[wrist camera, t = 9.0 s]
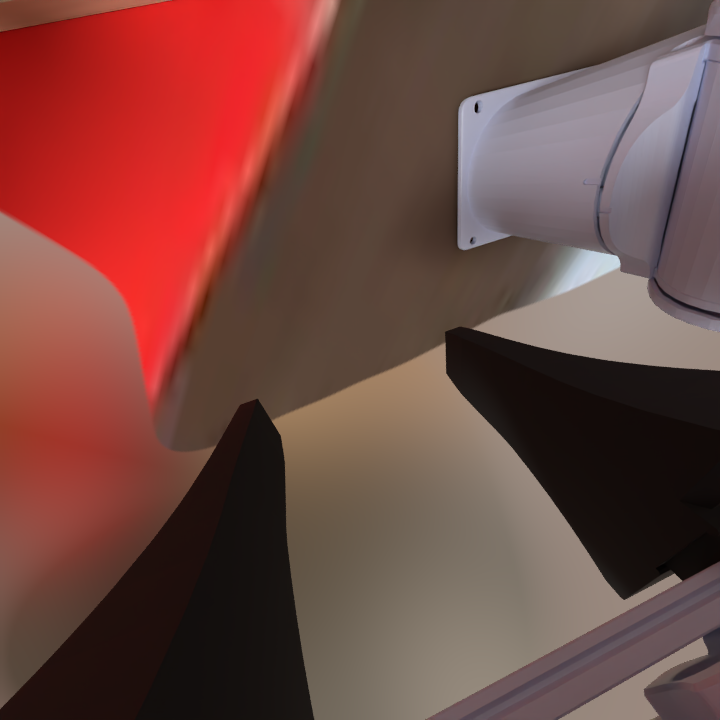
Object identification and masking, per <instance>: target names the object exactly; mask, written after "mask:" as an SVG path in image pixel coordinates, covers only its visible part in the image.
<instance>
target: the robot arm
mask: <svg viewBox="0 0 720 720" xmlns="http://www.w3.org/2000/svg"><path fill="white" fill-rule="evenodd" d="M476 103H477V104H478V111H477V113H476V112H475V110H474V107H475V104H476ZM512 235H513V236H518V237H524V238H529V239H534V240H539V241H544V242H549V243H554V244H560V245H565V246H570V247H575V248H580V249H585V250H590V251H596V252H601V253H606V254H611V255H617V256H618V257H619V259H620V263H621V265H620V271H621V272H625V273H629V274H633V275H637V276H641V277H645V278H649V280H648V287H647V289H648V292H649V296H650V298H651V299H652V301H653V302H654V304H655V305H656V306H658V307H659V308H660V309H661V310H663V311H664V312H665V313H667V314H669V315H671V316H673V317H674V318H676V319H679V320H681V321H684V322H686V323H688V324H692V325H695V326H698V327H701V328H705V329H708V330H713V331H717V332H720V0H714V1H713V2H712V3H711V5H710V8H709V12H708V20H707V24H704V25H702V26H699V27H696V28H694V29H691V30H689V31H686V32H683V33H681V34H678V35H675V36H673V37H670V38H667V39H665V40H662V41H660V42H657V43H654V44H652V45H649V46H646V47H644V48H641V49H639V50H636V51H633V52H631V53H628V54H625V55H623V56H620V57H618V58H615V59H612V60H610V61H607V62H604V63H602V64H599V65H596V66H591V67H587V68H583V69H579V70H575V71H571V72H567V73H563V74H559V75H555V76H551V77H547V78H543V79H539V80H535V81H531V82H527V83H523V84H519V85H515V86H511V87H507V88H503V89H499V90H495V91H491V92H487V93H483V94H479V95H475V96H471V97H468V98H466V99H465V100H463V102H462V103H461V105H460V107H459V119H458V247H459V248H460V249H462V250H467V249H471V248H474V247H477V246H480V245H483V244H486V243H490V242H493V241H496V240H499V239H502V238H506V237H509V236H512ZM472 237H473V241H472V242H471V243H470V239H471V238H472ZM445 338H446V373H447V375H448V376H449V378H450V379H451V381H452V382H453V383H454V385H455V386H456V387H457V389H458V390H459V391H460V393H461V394H462V395H463V396H464V397H465V398H466V399H467V400H468V401H469V402H470V403H471V405H473V407H474V408H475V409H476V410H477V411H478V412H479V413H480V414H481V415H482V416H483V417H484V418H485V419H486V420H487V421H488V422H489V423H490V424H491V425H492V426H493V427H494V428H495V429H496V430H497V431H498V433H499V434H500V435H501V436H502V437H503V438H504V439H505V440H506V441H507V442H508V443H509V445H510V446H511V447H512V448H513V449H514V450H515V452H516V453H517V454H518V456H519V457H520V458H521V459H522V461H523V462H524V463H525V465H526V466H527V467H528V468H529V470H530V471H531V472H532V474H533V475H534V476H535V477H536V479H537V480H538V481H539V483H540V484H541V486H542V487H543V488H544V490H545V491H546V492H547V493H548V495H549V496H550V497H551V499H552V500H553V502H554V503H555V505H556V506H557V507H558V509H559V510H560V512H561V513H562V515H563V516H564V517H565V519H566V520H567V522H568V523H569V524H570V526H571V527H572V529H573V530H574V532H575V533H576V535H577V536H578V538H579V539H580V541H581V543H582V544H583V546H584V547H585V549H586V550H587V552H588V553H589V554H590V556H591V558H592V559H593V561H594V562H595V564H596V565H597V567H598V569H599V570H600V572H601V573H602V575H603V577H604V578H605V580H606V581H607V582H608V583H609V584H610V586H611V587H612V588H613V589H614V590H615V591H616V592H617V594H618V595H619V596H620V597H621V598H622V599H624V600H625V599H627V598H629V597H631V596H633V595H634V594H637V593H638V592H640V591H642V590H644V589H646V588H648V587H650V586H652V585H654V584H656V583H657V582H659V581H661V580H663V579H665V578H667V577H669V576H671V575H672V574H674V573H675V574H676V575H677V576H678V577H679V578H680V579H681V580H682V582H680V583H679V584H677V585H675V586H673V587H671V588H670V589H667V590H666V591H664V592H662V593H660V594H658V595H656V596H655V597H653V598H651V599H649V600H647V601H645V602H643V603H641V604H640V605H638V606H636V607H634V608H632V609H630V610H628V611H627V612H625V613H623V614H621V615H619V616H617V617H615V618H614V619H612V620H610V621H608V622H606V623H604V624H602V625H601V626H599V627H597V628H595V629H593V630H591V631H589V632H587V633H586V634H584V635H582V636H580V637H578V638H576V639H575V640H573V641H571V642H569V643H567V644H565V645H563V646H562V647H560V648H558V649H556V650H554V651H552V652H550V653H549V654H547V655H545V656H543V657H541V658H539V659H537V660H536V661H534V662H532V663H530V664H528V665H526V666H524V667H522V668H521V669H519V670H517V671H515V672H513V673H511V674H509V675H508V676H506V677H504V678H502V679H500V680H498V681H497V682H495V683H493V684H491V685H489V686H487V687H485V688H483V689H482V690H480V691H478V692H476V693H474V694H472V695H470V696H469V697H467V698H465V699H463V700H461V701H459V702H457V703H456V704H454V705H452V706H450V707H448V708H446V709H444V710H442V711H441V712H439V713H437V714H435V715H433V716H431V717H430V718H428V719H426V720H558V719H560V718H562V717H563V716H565V715H567V714H569V713H570V712H572V711H574V710H576V709H577V708H579V707H581V706H582V705H584V704H586V703H588V702H590V701H591V700H593V699H595V698H596V697H598V696H600V695H602V694H603V693H605V692H607V691H609V690H610V689H612V688H614V687H616V686H617V685H619V684H621V683H622V682H624V681H626V680H628V679H629V678H631V677H633V676H635V675H636V674H638V673H640V672H642V671H643V670H645V669H647V668H649V667H650V666H652V665H654V664H655V663H657V662H659V661H661V660H663V659H664V658H666V657H668V656H670V655H671V654H673V653H675V652H677V651H678V650H680V649H682V648H684V647H685V646H687V645H689V644H690V643H692V642H694V641H696V640H697V639H699V638H701V637H703V640H704V643H705V645H706V646H707V649H708V655H705V656H702V657H699V658H696V659H693V660H690V661H687V662H684V663H682V664H679V665H677V666H675V667H673V668H671V669H670V670H668V671H666V672H664V673H663V674H661V675H660V676H659V677H658V678H657V679H656V680H654V681H653V682H652V683H651V684H650V685H648V686H647V687H646V688H645V689H644V695H645V697H646V698H647V700H648V701H649V702H650V704H651V705H652V706H653V708H654V709H655V710H656V712H657V713H658V714H659V716H657V717H656V718H653V719H651V720H720V371H715V370H699V369H684V368H671V367H659V366H648V365H640V364H632V363H623V362H615V361H607V360H601V359H595V358H589V357H583V356H577V355H572V354H566V353H562V352H557V351H552V350H548V349H544V348H539V347H535V346H531V345H527V344H523V343H520V342H516V341H512V340H509V339H504V338H501V337H498V336H494V335H491V334H487V333H484V332H480V331H477V330H473V329H469V328H464V327H457V328H455V329H452V330H449V331H446V332H445ZM285 498H286V495H285V461H284V453H283V448H282V441H281V436H280V434H279V432H278V431H277V429H276V427H275V426H274V424H273V423H272V421H271V419H270V418H269V416H268V415H267V413H266V411H265V410H264V408H263V406H262V405H261V403H260V402H259V400H258V399H255V400H253V401H250V402H247V403H244V404H241V405H240V406H239V408H238V409H237V411H236V413H235V415H234V416H233V418H232V420H231V422H230V424H229V425H228V427H227V429H226V431H225V432H224V434H223V436H222V438H221V439H220V441H219V443H218V445H217V446H216V448H215V450H214V451H213V453H212V455H211V457H210V458H209V460H208V461H207V463H206V465H205V466H204V468H203V469H202V471H201V472H200V474H199V475H198V477H197V479H196V480H195V482H194V483H193V485H192V486H191V488H190V489H189V491H188V492H187V494H186V495H185V497H184V498H183V500H182V501H181V503H180V504H179V505H178V507H177V508H176V510H175V511H174V512H173V514H172V515H171V516H170V518H169V519H168V521H167V522H166V523H165V524H164V526H163V527H162V528H161V530H160V531H159V532H158V534H157V535H156V536H155V538H154V539H153V540H152V541H151V543H150V544H149V545H148V546H147V547H146V549H145V550H144V551H143V552H142V554H141V555H140V556H139V557H138V558H137V560H136V561H135V562H134V563H133V564H132V566H131V567H130V568H129V569H128V571H127V572H126V573H125V574H124V575H123V577H122V578H121V579H120V580H119V582H118V583H117V584H116V585H115V586H114V588H113V589H112V590H111V591H110V592H109V593H108V595H107V596H106V597H105V598H104V599H103V600H102V601H101V602H100V603H99V605H98V606H97V607H96V608H95V609H94V610H93V611H92V612H91V614H90V615H89V616H88V617H87V618H86V619H85V620H84V621H83V623H82V624H81V625H80V626H79V627H78V628H77V629H76V630H75V631H74V632H73V633H72V635H71V636H70V637H69V638H68V639H67V640H66V641H65V642H64V643H63V644H62V645H61V646H60V648H59V649H58V650H57V651H56V652H55V653H54V654H53V655H52V656H51V657H50V658H49V659H48V660H47V662H46V663H45V664H44V665H43V666H42V667H41V668H40V669H39V670H38V671H37V672H36V673H35V674H34V675H33V676H32V677H31V678H30V679H29V680H28V681H27V682H26V683H25V684H24V685H23V686H22V687H21V688H20V690H19V691H18V692H17V693H16V694H15V695H14V696H13V697H12V698H11V699H10V700H9V701H8V702H7V703H6V704H5V705H4V706H3V707H2V708H1V709H0V720H314V717H313V711H312V706H311V700H310V694H309V689H308V683H307V678H306V672H305V666H304V660H303V655H302V649H301V642H300V635H299V629H298V623H297V616H296V609H295V602H294V595H293V587H292V579H291V572H290V563H289V554H288V546H287V533H286V499H285Z"/></svg>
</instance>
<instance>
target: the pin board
mask: <svg viewBox="0 0 720 720" xmlns="http://www.w3.org/2000/svg"><path fill="white" fill-rule="evenodd" d="M164 1H170V0H0V32H2V31H7V30H12V29H18V28H23V27H29V26H34V25H40V24H45V23H50V22H56V21H61V20H67V19H72V18H78V17H83V16H88V15H94V14H99V13H105V12H110V11H116V10H121V9H126V8H132V7H137V6H143V5H148V4H153V3H159V2H164Z"/></svg>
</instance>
